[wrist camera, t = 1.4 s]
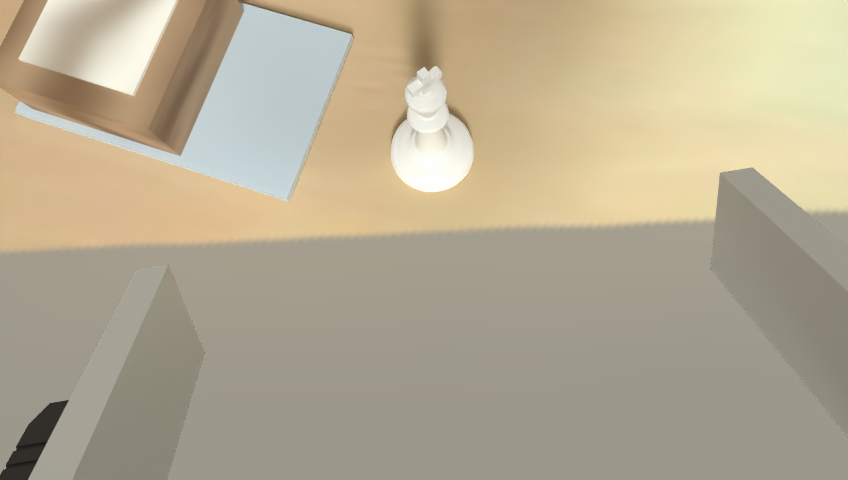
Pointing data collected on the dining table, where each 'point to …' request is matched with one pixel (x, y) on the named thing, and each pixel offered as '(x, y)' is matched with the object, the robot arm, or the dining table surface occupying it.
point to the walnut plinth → (119, 63)
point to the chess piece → (430, 137)
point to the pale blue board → (253, 105)
